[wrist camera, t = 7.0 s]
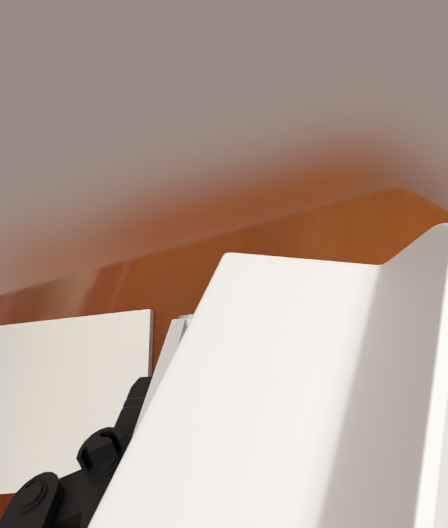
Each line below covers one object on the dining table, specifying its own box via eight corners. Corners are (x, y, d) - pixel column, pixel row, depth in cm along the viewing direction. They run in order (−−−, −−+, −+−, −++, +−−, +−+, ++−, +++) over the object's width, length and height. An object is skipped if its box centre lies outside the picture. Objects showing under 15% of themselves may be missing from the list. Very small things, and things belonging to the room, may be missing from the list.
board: (-56, 493, 21) (-70, 499, 20) (-7, 329, 27) (-16, 327, 26) (148, 478, 20) (143, 482, 19) (153, 311, 26) (150, 309, 25)
